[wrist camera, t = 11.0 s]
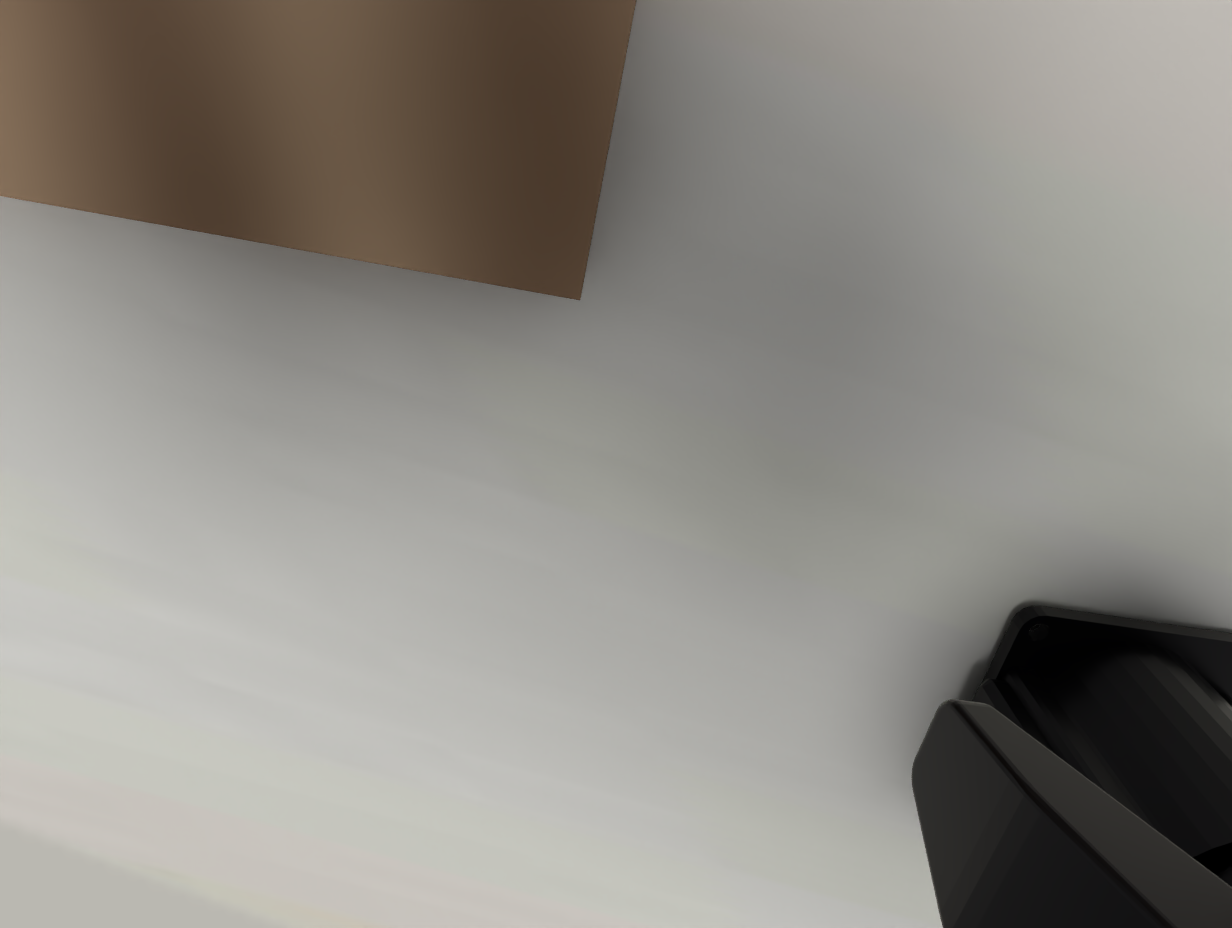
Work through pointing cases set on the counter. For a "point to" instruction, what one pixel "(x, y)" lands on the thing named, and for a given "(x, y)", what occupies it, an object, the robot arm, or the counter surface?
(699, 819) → the counter surface
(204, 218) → the shelf
